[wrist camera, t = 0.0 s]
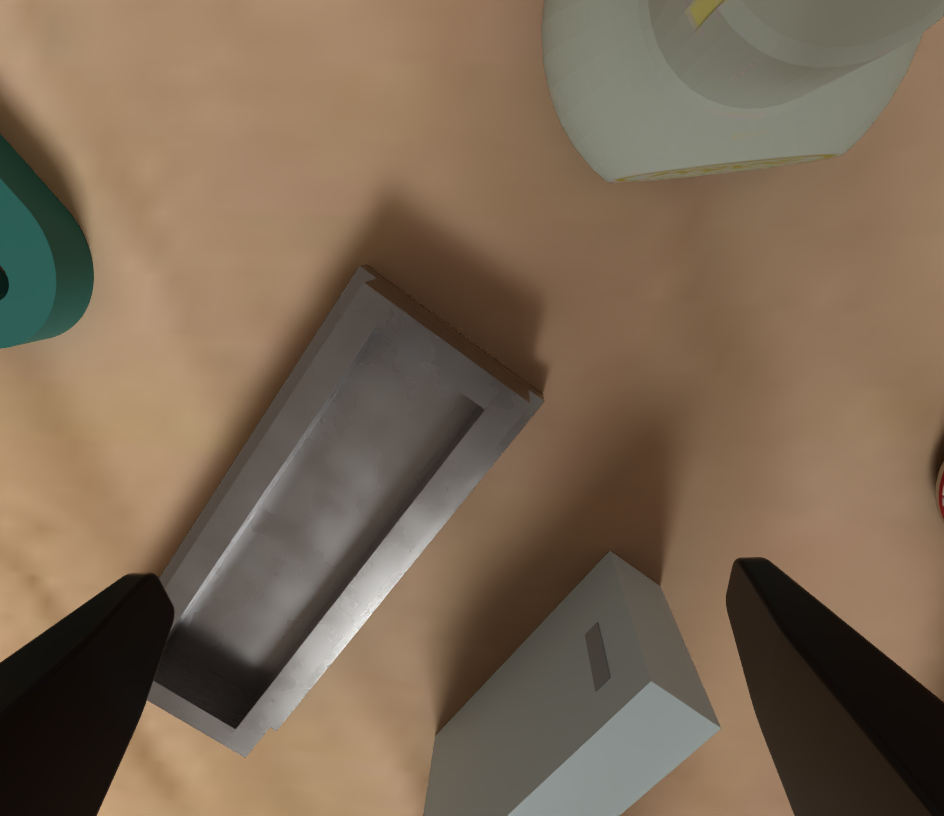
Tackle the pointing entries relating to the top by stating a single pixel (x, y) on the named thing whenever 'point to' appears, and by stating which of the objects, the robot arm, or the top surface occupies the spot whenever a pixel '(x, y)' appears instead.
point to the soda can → (940, 492)
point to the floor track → (329, 507)
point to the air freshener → (723, 79)
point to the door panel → (577, 710)
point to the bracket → (38, 257)
